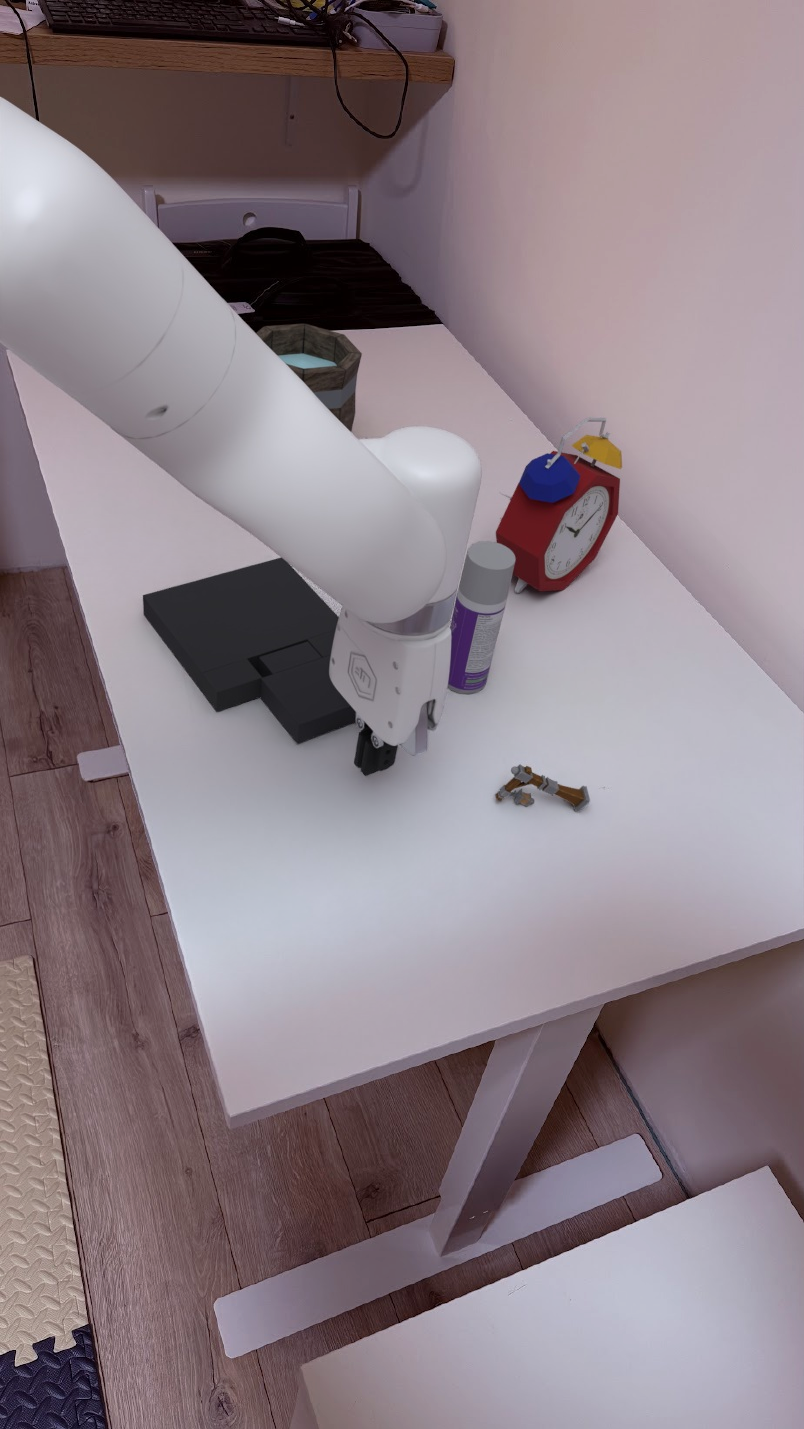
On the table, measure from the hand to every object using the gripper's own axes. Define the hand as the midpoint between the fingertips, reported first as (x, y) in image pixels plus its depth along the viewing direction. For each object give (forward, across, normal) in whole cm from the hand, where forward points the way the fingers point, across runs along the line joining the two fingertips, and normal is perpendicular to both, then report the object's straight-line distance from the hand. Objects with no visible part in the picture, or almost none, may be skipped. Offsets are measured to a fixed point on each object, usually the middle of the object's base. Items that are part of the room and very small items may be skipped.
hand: (373, 764), depth 87 cm
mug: (+3, -48, +21) cm, 52 cm away
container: (+3, -8, +16) cm, 18 cm away
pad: (+3, -12, +1) cm, 13 cm away
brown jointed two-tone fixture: (+3, +9, +12) cm, 16 cm away
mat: (+3, -22, 0) cm, 23 cm away
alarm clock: (+3, -19, +36) cm, 40 cm away
